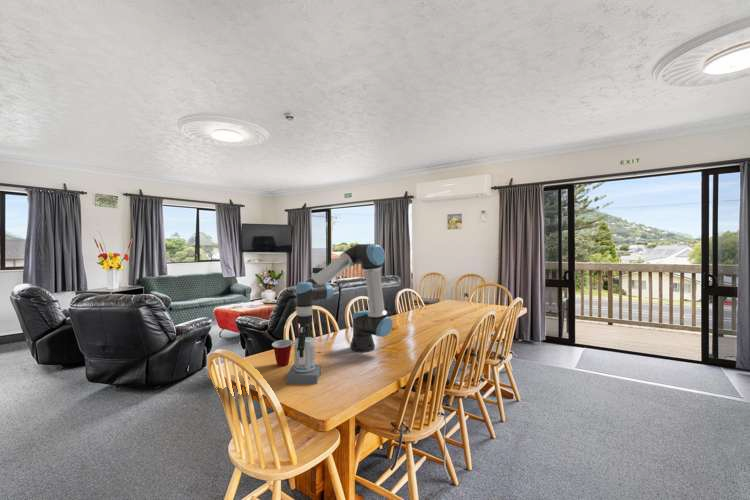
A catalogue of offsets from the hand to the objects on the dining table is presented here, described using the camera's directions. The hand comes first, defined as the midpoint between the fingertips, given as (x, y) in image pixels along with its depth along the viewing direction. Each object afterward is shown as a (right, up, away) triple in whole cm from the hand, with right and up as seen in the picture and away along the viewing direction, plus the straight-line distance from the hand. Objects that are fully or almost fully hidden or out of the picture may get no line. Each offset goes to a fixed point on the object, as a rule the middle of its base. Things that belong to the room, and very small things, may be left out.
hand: (304, 358), depth 165 cm
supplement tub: (0, -5, 0) cm, 5 cm away
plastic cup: (-15, -9, +18) cm, 25 cm away
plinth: (0, -9, 0) cm, 9 cm away
